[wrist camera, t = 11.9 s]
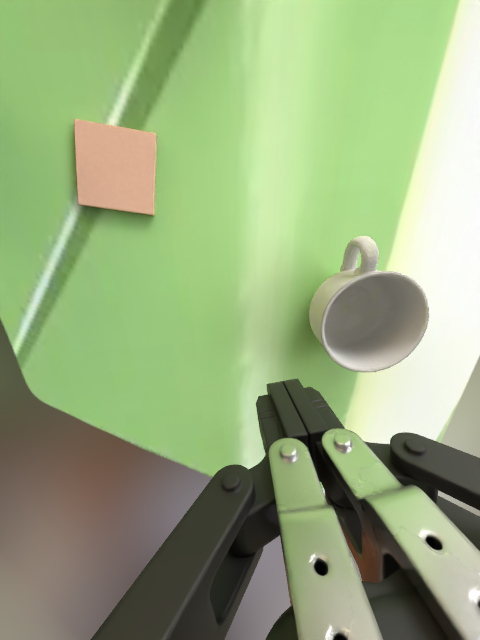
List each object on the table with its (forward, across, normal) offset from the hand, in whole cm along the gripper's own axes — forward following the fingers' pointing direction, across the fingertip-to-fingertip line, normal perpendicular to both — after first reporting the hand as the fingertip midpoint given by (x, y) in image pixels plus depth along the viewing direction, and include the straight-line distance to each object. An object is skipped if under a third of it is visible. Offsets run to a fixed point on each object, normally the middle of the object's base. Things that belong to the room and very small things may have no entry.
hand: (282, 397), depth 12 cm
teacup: (+20, -13, +1) cm, 24 cm away
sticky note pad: (+20, +11, -16) cm, 28 cm away
